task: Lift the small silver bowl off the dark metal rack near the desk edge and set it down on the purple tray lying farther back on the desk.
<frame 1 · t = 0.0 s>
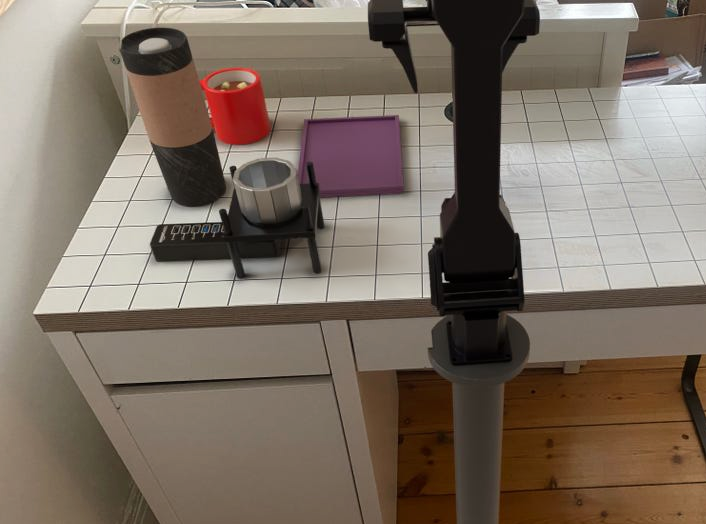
hand: (454, 90, 89), 14 cm above the table, tool pointing down, fingers open, 9 cm apart
bowl: (272, 208, 86), point 6 cm above the table, touching rack
multiport hub: (220, 249, 91), on the table
rack: (282, 250, 91), on the table
travel mug: (199, 192, 100), on the table
mug: (230, 132, 111), on the table
purple tray: (351, 157, 106), on the table
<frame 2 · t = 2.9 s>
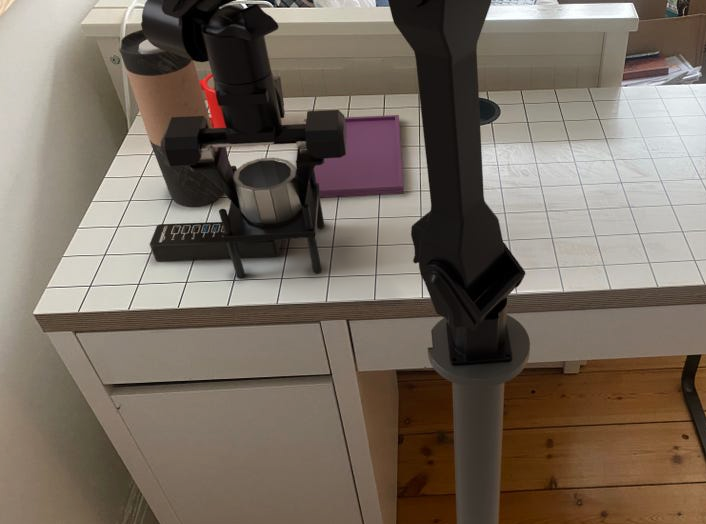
hand: (272, 204, 86), 7 cm above the table, tool pointing down, fingers closed on bowl, 7 cm apart
bowl: (272, 208, 86), point 6 cm above the table, touching gripper, rack
everything else where it was.
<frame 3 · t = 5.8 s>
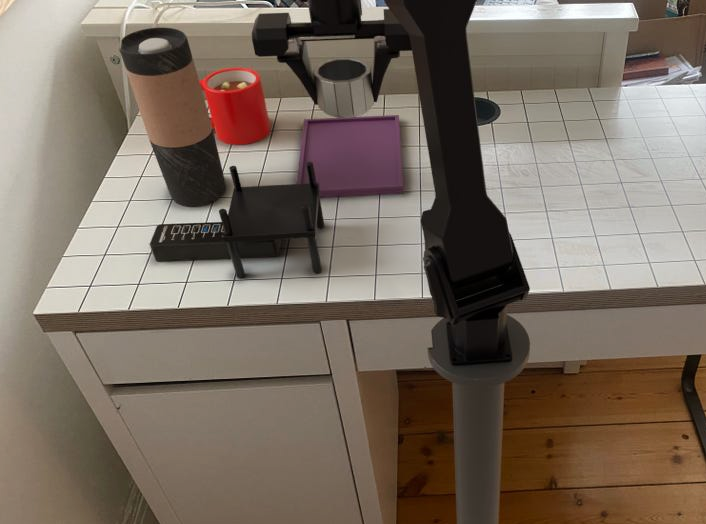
hand: (346, 102, 93), 12 cm above the table, tool pointing down, fingers closed on bowl, 7 cm apart
bowl: (346, 105, 93), point 11 cm above the table, touching gripper
everything else where it was.
when the fingers open (1 cm above the table, at t = 8.9 s): bowl stays where it is, resting on purple tray.
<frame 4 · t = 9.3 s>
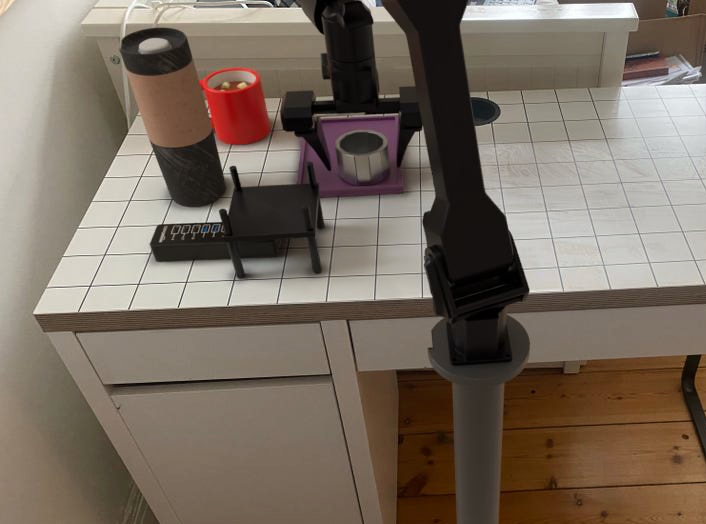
hand: (364, 167, 101), 1 cm above the table, tool pointing down, fingers open, 9 cm apart
bowl: (365, 173, 102), point 1 cm above the table, touching purple tray
everything else where it was.
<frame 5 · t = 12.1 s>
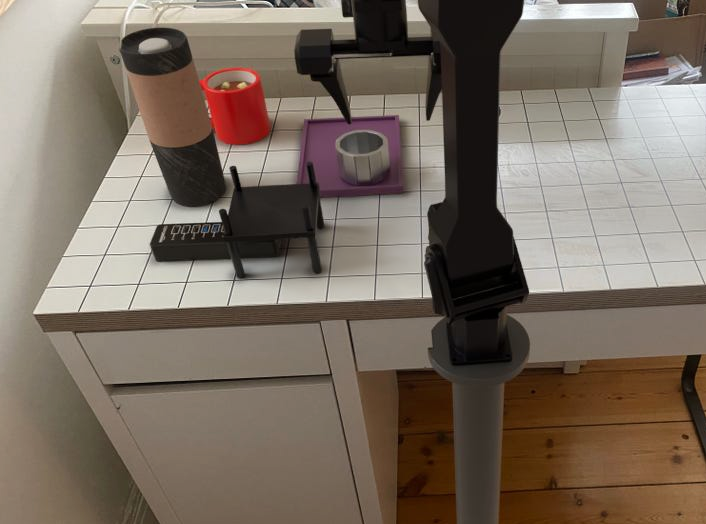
hand: (389, 120, 89), 12 cm above the table, tool pointing down, fingers open, 9 cm apart
nothing on the table moved.
at the end: bowl 0.0 cm from the target spot on the purple tray, point 0.6 cm above the purple tray's base; bowl touching purple tray; bowl tilted 0° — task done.
